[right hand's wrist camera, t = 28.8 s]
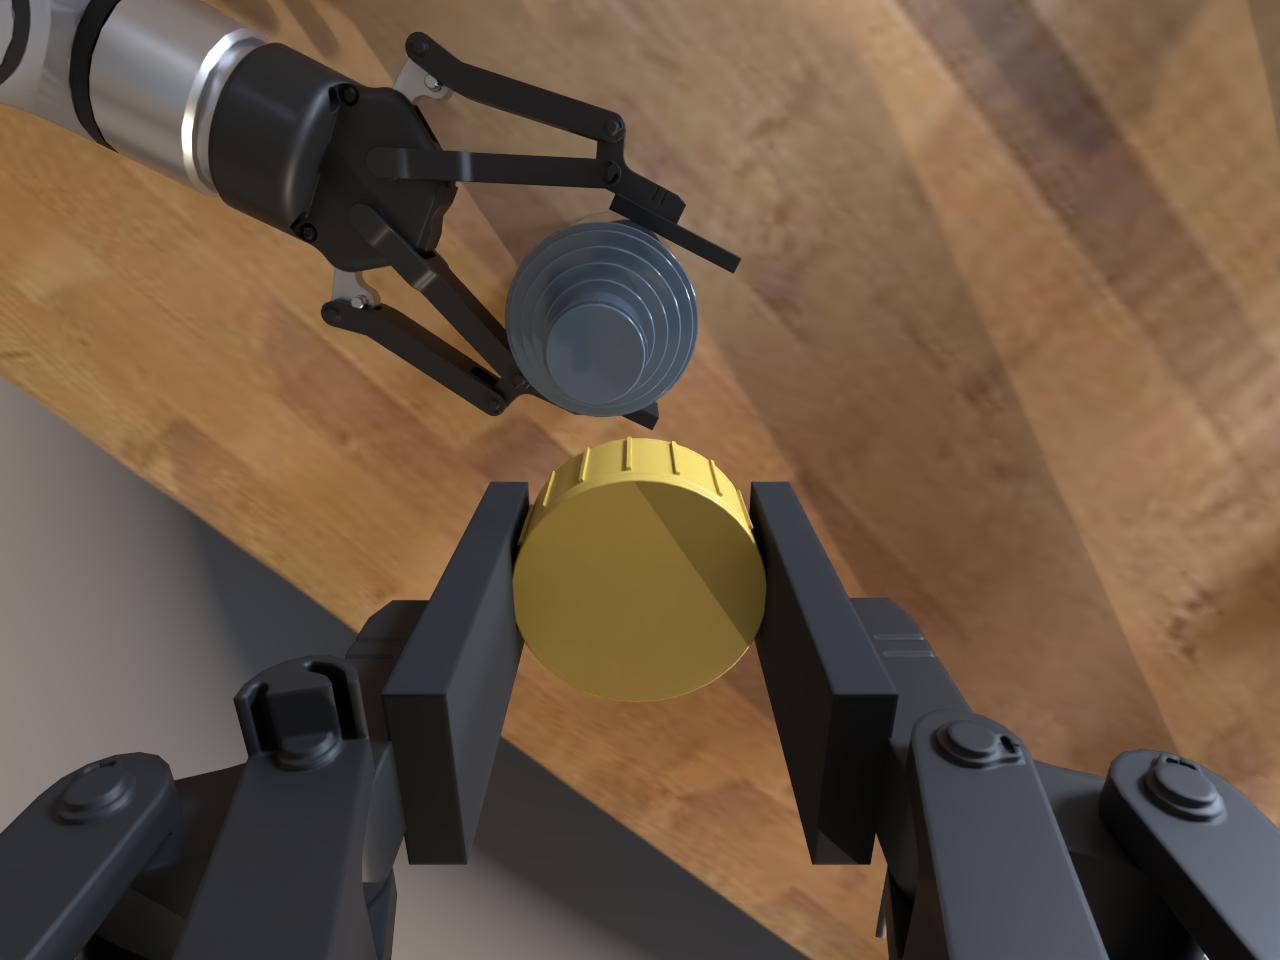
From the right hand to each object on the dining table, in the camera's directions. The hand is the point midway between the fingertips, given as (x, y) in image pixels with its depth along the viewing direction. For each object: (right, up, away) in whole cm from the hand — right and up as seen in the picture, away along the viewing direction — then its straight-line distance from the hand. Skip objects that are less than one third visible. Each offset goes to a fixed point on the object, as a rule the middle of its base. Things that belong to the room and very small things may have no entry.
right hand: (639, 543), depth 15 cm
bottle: (-2, +13, +27) cm, 30 cm away
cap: (0, -1, -2) cm, 2 cm away
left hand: (+3, +8, +21) cm, 23 cm away
